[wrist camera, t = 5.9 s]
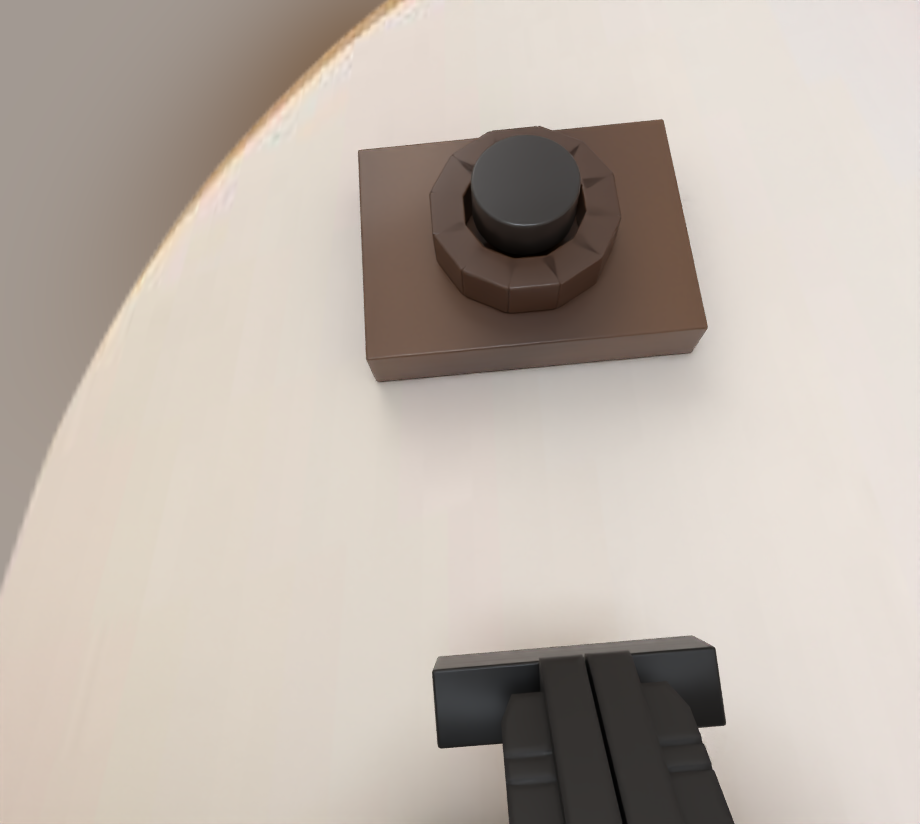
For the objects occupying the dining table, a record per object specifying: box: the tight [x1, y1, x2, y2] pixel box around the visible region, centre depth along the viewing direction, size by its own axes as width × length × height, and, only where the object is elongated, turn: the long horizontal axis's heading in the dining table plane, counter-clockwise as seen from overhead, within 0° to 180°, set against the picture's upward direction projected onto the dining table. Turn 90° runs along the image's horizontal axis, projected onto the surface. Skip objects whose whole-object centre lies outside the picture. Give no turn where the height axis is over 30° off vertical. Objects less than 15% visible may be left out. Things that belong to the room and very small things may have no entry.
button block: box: [358, 119, 708, 382], centre depth 26 cm, size 12×9×4 cm
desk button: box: [471, 135, 581, 255], centre depth 23 cm, size 4×4×2 cm
